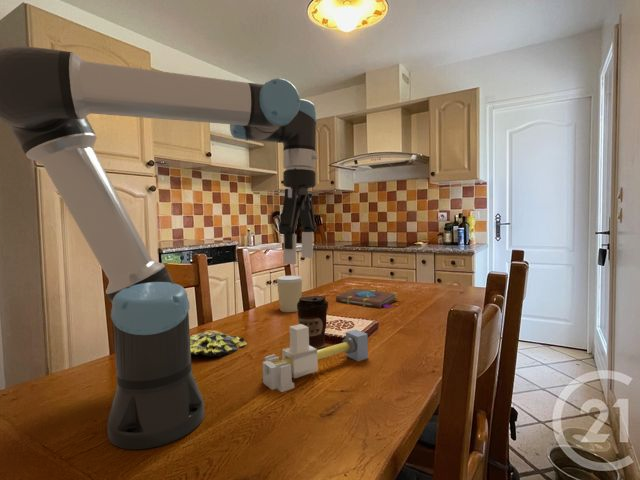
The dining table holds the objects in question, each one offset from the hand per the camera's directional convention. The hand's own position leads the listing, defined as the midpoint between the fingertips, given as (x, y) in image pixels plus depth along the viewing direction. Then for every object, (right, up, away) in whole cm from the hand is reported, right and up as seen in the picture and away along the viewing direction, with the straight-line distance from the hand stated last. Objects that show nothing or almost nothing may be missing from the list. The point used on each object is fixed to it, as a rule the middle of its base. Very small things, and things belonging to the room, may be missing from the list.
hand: (299, 260), depth 86 cm
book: (+25, -20, +58) cm, 67 cm away
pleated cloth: (-26, -25, +13) cm, 38 cm away
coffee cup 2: (+3, -24, +12) cm, 26 cm away
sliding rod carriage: (+1, -24, -7) cm, 25 cm away
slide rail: (+5, -25, -4) cm, 25 cm away
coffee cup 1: (-6, -21, +49) cm, 54 cm away
